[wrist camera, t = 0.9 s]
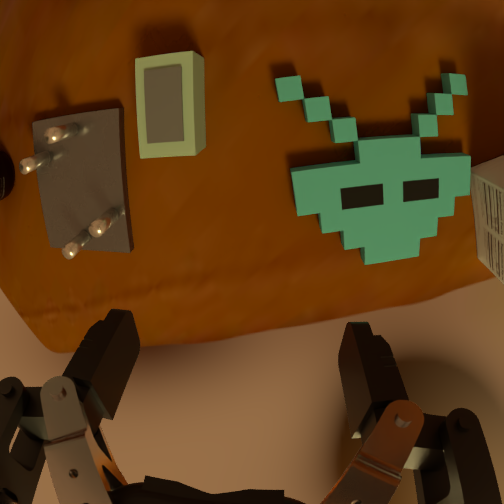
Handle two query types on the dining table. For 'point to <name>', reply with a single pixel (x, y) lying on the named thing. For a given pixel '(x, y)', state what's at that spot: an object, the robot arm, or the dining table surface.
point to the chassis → (83, 181)
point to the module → (170, 104)
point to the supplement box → (489, 213)
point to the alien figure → (381, 178)
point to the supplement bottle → (6, 175)
